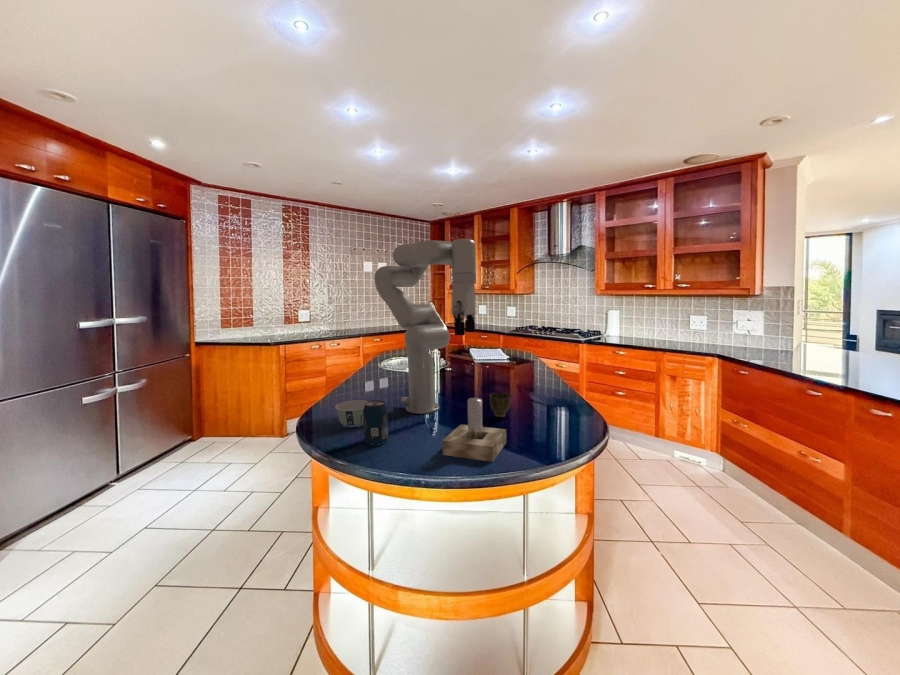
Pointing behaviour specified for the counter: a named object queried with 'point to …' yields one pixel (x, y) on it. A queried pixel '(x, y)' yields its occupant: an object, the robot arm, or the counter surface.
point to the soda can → (375, 422)
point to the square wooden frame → (474, 444)
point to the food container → (351, 412)
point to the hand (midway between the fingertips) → (465, 333)
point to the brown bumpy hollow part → (499, 403)
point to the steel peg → (475, 418)
